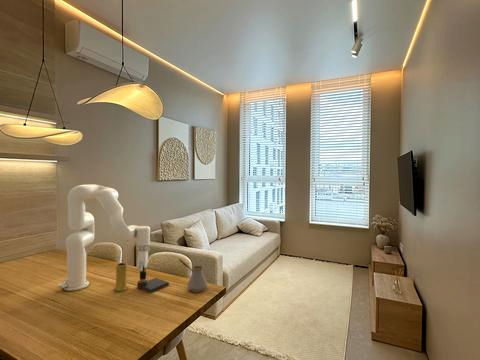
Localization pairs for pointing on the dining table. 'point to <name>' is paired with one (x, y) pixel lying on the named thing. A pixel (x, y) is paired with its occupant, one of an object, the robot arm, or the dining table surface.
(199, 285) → the coffee pot
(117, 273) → the vase
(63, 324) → the dining table surface
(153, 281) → the scale
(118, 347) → the dining table surface
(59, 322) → the dining table surface
